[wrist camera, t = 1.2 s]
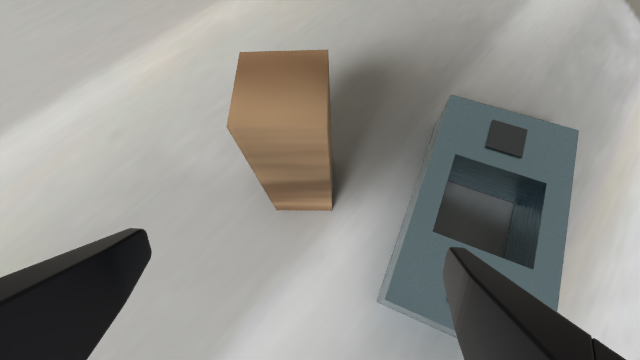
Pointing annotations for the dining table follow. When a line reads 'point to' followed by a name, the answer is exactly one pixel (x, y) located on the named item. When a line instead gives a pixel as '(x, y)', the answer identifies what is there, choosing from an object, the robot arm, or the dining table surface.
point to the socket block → (493, 179)
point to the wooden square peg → (285, 125)
